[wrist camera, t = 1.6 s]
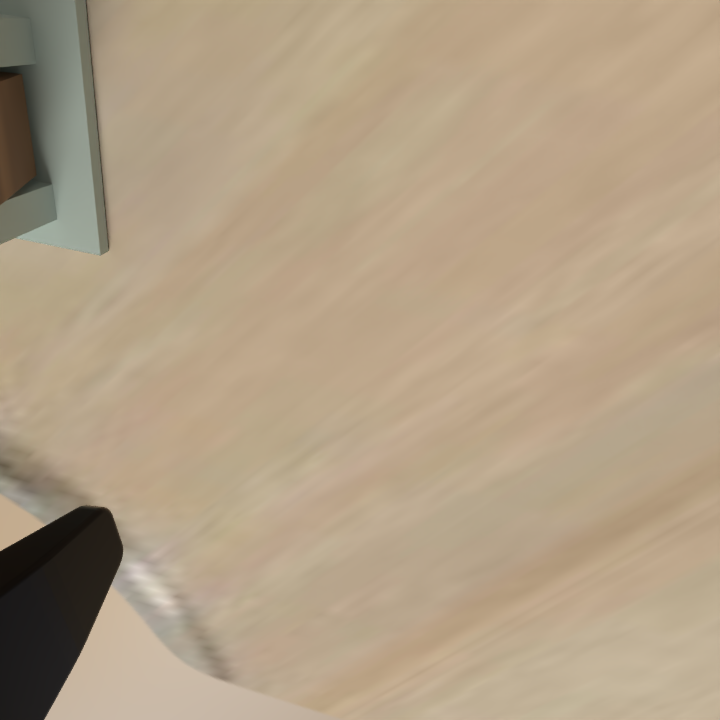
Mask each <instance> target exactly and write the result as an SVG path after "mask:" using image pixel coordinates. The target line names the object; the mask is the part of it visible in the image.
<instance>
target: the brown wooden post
mask: <svg viewBox="0 0 720 720" xmlns="http://www.w3.org/2000/svg"><path fill="white" fill-rule="evenodd" d="M36 175H37V174H36V167H35V160H34V153H33V146H32V140H31V133H30V126H29V119H28V112H27V105H26V98H25V91H24V85H23V78H22V74H18V73H9V72H0V205H1V204H2V203H4V202H5V201H6V200H7V199H8V198H10V197H11V196H12V195H13V194H14V193H16V192H17V191H18V190H19V189H20V188H22V187H23V186H24V185H25V184H26V183H28V182H29V181H30V180H31V179H32V178H34V177H35V176H36Z"/></svg>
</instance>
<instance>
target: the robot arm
mask: <svg viewBox="0 0 720 720" xmlns="http://www.w3.org/2000/svg"><path fill="white" fill-rule="evenodd" d="M122 556H123V545H122V541H121V539H120V536H119V533H118V530H117V527H116V524H115V521H114V518H113V515H112V513H111V512H110V510H109V509H108V508H105V507H97V506H87V505H86V506H81V507H78V508H76V509H75V510H73V511H71V512H69V513H67V514H66V515H64V516H62V517H60V518H59V519H57V520H55V521H53V522H51V523H50V524H48V525H46V526H44V527H43V528H41V529H39V530H37V531H36V532H34V533H32V534H30V535H28V536H27V537H25V538H23V539H21V540H20V541H18V542H16V543H14V544H12V545H11V546H9V547H7V548H5V549H3V550H2V551H0V720H44V719H45V717H46V716H47V714H48V712H49V710H50V708H51V707H52V705H53V703H54V701H55V699H56V698H57V696H58V694H59V692H60V690H61V688H62V687H63V685H64V683H65V681H66V680H67V678H68V675H69V674H70V672H71V670H72V669H73V667H74V665H75V663H76V661H77V659H78V657H79V655H80V653H81V651H82V649H83V647H84V645H85V643H86V641H87V638H88V636H89V634H90V631H91V629H92V627H93V625H94V623H95V620H96V617H97V616H98V613H99V611H100V609H101V606H102V604H103V602H104V600H105V597H106V595H107V593H108V591H109V588H110V586H111V584H112V581H113V579H114V577H115V575H116V572H117V570H118V568H119V566H120V563H121V560H122Z"/></svg>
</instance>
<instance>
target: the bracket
mask: <svg viewBox="0 0 720 720" xmlns="http://www.w3.org/2000/svg"><path fill="white" fill-rule="evenodd" d="M0 72H9V73H18V74H22V78H23V85H24V91H25V98H26V105H27V112H28V119H29V126H30V133H31V140H32V146H33V153H34V160H35V167H36V174H37V175H36V176H35V177H34V178H32V179H31V180H30V181H29V182H28V183H26V184H25V185H24V186H23V187H22V188H20V189H19V190H18V191H17V192H16V193H14V194H13V195H12V196H11V197H10V198H8V199H7V200H6V201H5V202H4V203H2V204H1V205H0V244H2V243H5V242H7V241H9V240H11V239H14V238H18V239H22V240H27V241H32V242H37V243H42V244H47V245H52V246H56V247H61V248H66V249H71V250H76V251H81V252H85V253H90V254H95V255H100V256H101V255H102V254H104V253H106V252H108V251H109V249H108V239H107V228H106V217H105V206H104V195H103V184H102V174H101V163H100V152H99V141H98V130H97V119H96V108H95V98H94V87H93V76H92V65H91V54H90V43H89V33H88V22H87V11H86V0H0Z"/></svg>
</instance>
